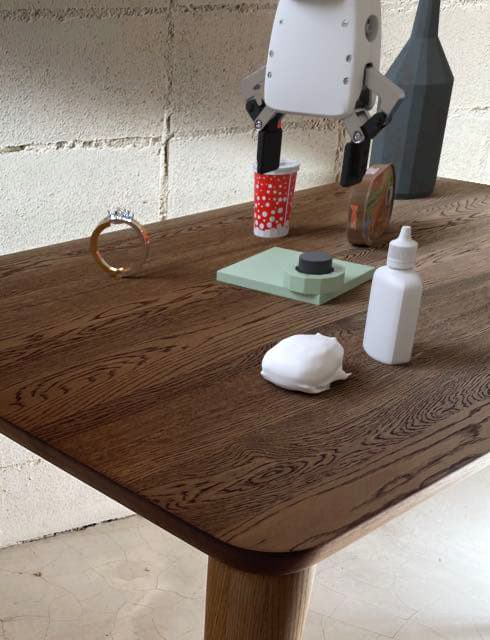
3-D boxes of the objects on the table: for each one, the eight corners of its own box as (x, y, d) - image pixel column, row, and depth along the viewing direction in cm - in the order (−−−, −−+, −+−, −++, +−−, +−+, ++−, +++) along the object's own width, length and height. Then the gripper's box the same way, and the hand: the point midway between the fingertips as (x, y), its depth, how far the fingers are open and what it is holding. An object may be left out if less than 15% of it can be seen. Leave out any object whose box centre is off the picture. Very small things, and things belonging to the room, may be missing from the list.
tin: (363, 254, 109) (372, 183, 104) (338, 251, 111) (346, 181, 106) (392, 223, 120) (403, 157, 115) (369, 221, 121) (378, 156, 116)
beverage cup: (272, 224, 122) (281, 114, 114) (303, 234, 117) (314, 120, 109) (238, 232, 119) (245, 120, 111) (268, 242, 115) (277, 127, 107)
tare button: (337, 270, 96) (339, 255, 95) (319, 279, 94) (321, 263, 93) (309, 264, 99) (310, 249, 98) (291, 273, 97) (292, 257, 96)
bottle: (353, 194, 133) (384, -41, 116) (381, 180, 139) (414, -45, 122) (419, 202, 128) (461, -43, 111) (445, 188, 134) (489, -47, 117)
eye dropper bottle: (408, 345, 85) (431, 219, 78) (409, 368, 81) (433, 237, 74) (362, 342, 86) (381, 217, 80) (360, 364, 82) (380, 235, 75)
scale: (380, 278, 101) (384, 253, 100) (321, 309, 94) (324, 282, 92) (274, 255, 110) (276, 231, 108) (212, 282, 103) (213, 257, 101)
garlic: (297, 356, 84) (301, 318, 82) (359, 374, 80) (365, 335, 78) (247, 382, 80) (250, 343, 78) (310, 403, 76) (315, 363, 74)
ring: (151, 276, 106) (151, 207, 101) (142, 284, 103) (141, 214, 99) (98, 270, 108) (96, 204, 104) (88, 278, 106) (85, 210, 101)
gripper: (441, -26, 75) (405, 183, 85) (272, -26, 85) (258, 161, 95) (399, -22, 71) (366, 198, 81) (226, -22, 81) (216, 173, 91)
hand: (308, 177), depth 88 cm, fingers open, 9 cm apart
